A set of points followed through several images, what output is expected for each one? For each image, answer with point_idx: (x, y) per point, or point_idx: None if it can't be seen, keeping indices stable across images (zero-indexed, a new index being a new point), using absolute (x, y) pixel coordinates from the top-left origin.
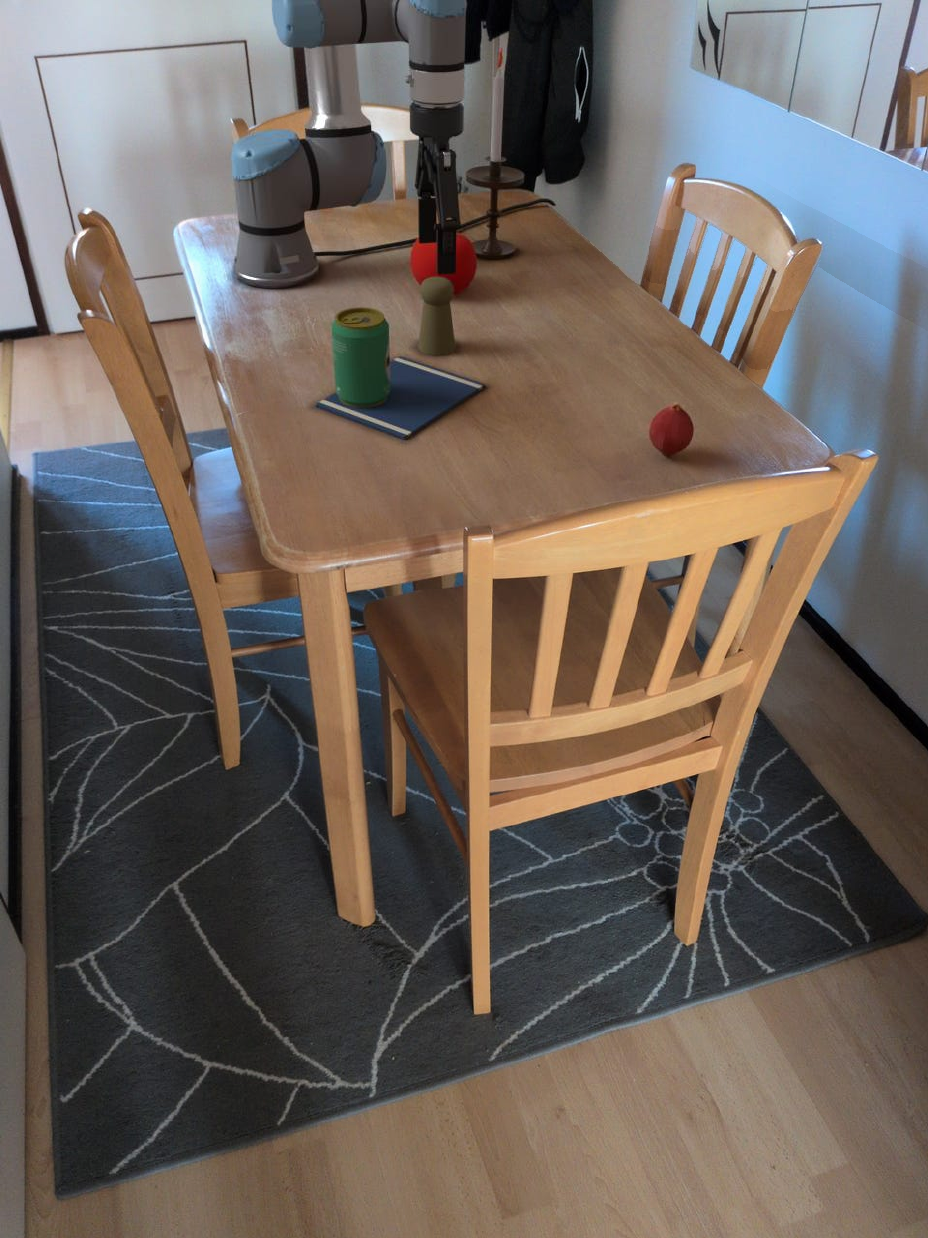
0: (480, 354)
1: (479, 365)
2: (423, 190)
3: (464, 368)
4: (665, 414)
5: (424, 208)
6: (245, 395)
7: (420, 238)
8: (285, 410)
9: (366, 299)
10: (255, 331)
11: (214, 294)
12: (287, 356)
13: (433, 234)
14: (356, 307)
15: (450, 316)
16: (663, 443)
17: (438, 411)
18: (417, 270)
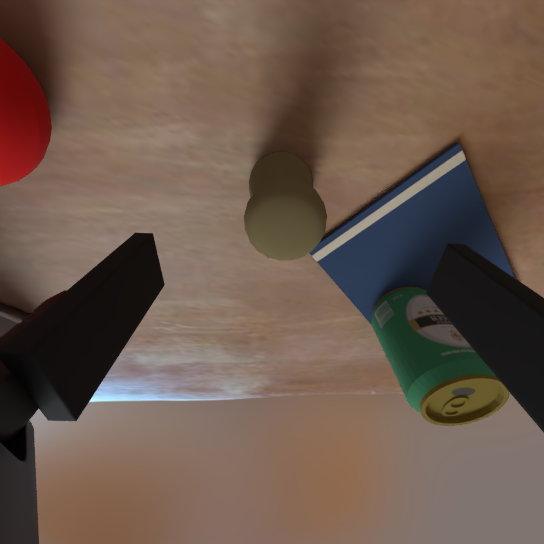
0: (331, 108)
1: (374, 126)
2: (25, 468)
3: (373, 159)
4: None
5: (95, 361)
6: (340, 387)
7: (158, 291)
8: (384, 367)
9: (81, 254)
10: (196, 372)
11: (96, 393)
12: (265, 355)
13: (142, 256)
14: (424, 402)
15: (301, 177)
16: None
17: (492, 238)
18: (13, 181)
